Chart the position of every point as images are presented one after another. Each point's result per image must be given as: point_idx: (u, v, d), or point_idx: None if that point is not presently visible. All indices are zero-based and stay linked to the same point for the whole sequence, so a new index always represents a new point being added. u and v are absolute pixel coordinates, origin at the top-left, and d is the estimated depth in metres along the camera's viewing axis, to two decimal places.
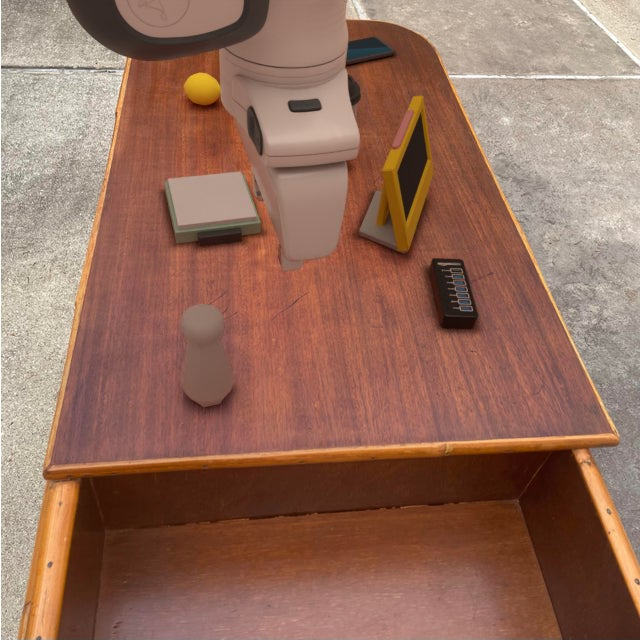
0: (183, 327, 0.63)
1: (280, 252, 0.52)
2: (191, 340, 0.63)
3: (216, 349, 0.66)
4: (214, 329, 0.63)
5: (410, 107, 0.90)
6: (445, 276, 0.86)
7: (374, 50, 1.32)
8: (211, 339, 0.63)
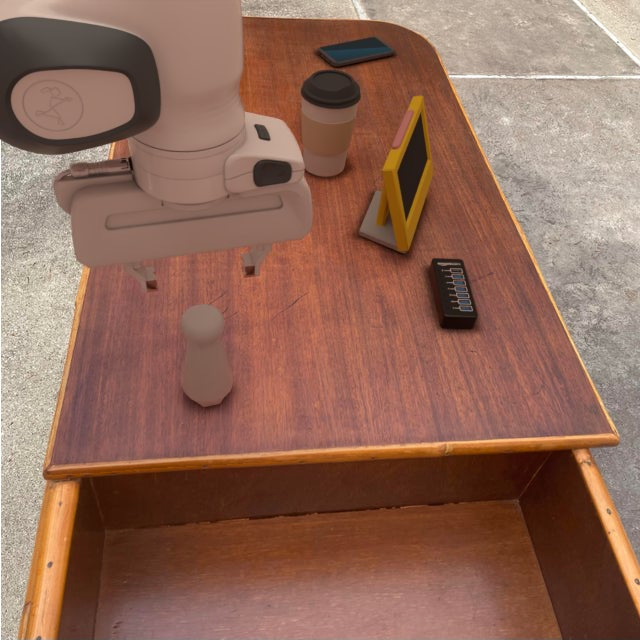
0: (183, 327, 0.63)
1: (253, 266, 0.59)
2: (191, 340, 0.63)
3: (216, 349, 0.66)
4: (214, 329, 0.63)
5: (410, 107, 0.90)
6: (445, 276, 0.86)
7: (374, 50, 1.32)
8: (211, 339, 0.63)
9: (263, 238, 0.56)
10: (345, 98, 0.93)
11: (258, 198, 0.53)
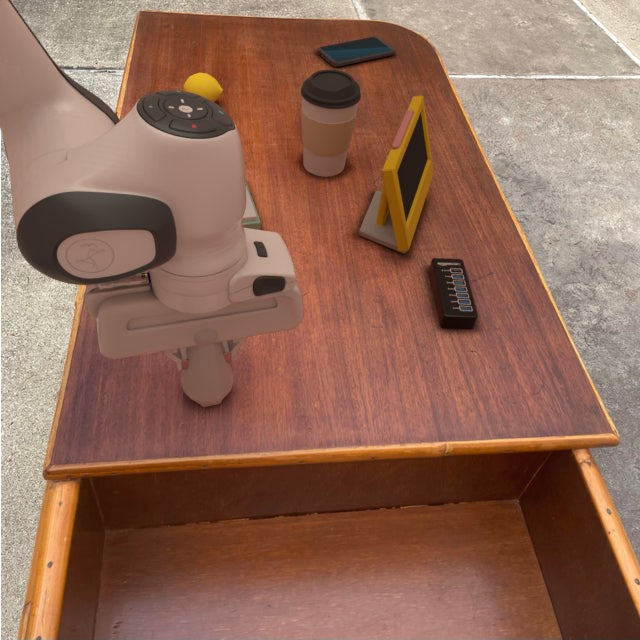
0: None
1: (229, 354, 0.68)
2: None
3: (216, 349, 0.66)
4: None
5: (410, 107, 0.90)
6: (445, 276, 0.86)
7: (374, 50, 1.32)
8: (211, 339, 0.63)
9: (260, 330, 0.65)
10: (345, 98, 0.93)
11: (256, 300, 0.62)
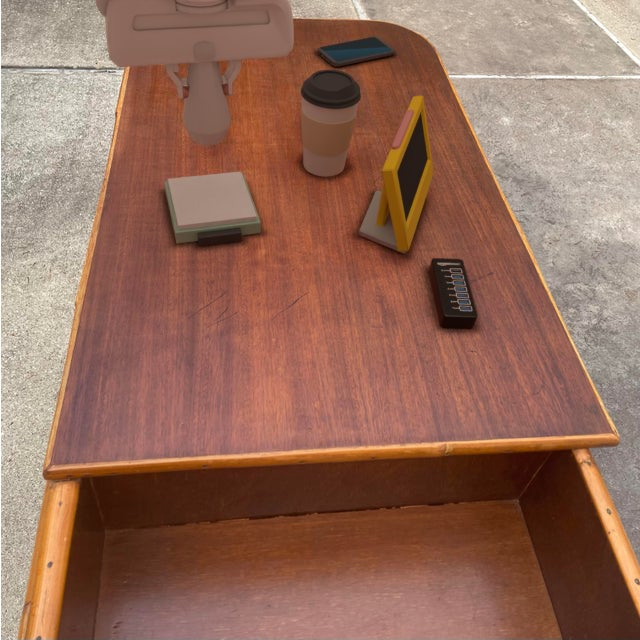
0: None
1: (226, 84, 0.74)
2: None
3: (214, 72, 0.72)
4: None
5: (410, 107, 0.90)
6: (445, 276, 0.86)
7: (374, 50, 1.32)
8: (209, 53, 0.70)
9: (254, 51, 0.71)
10: (345, 98, 0.93)
11: (250, 12, 0.68)
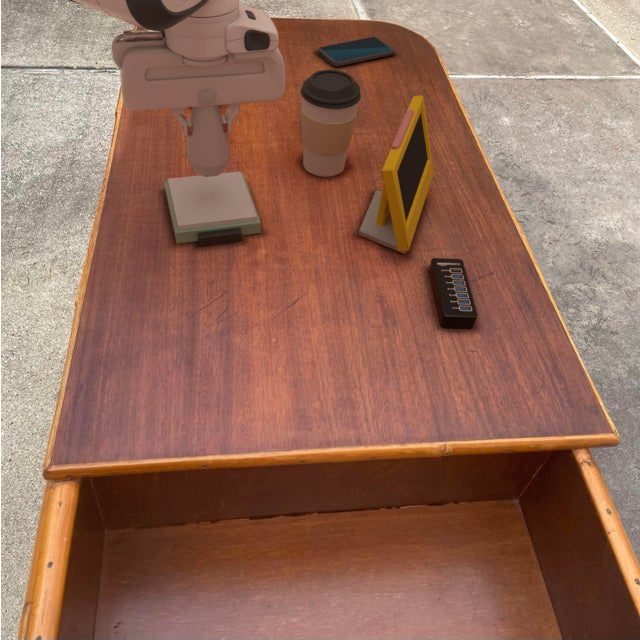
0: None
1: (226, 124, 0.84)
2: None
3: (215, 114, 0.82)
4: None
5: (410, 107, 0.90)
6: (445, 276, 0.86)
7: (374, 50, 1.32)
8: (211, 98, 0.79)
9: (251, 96, 0.81)
10: (345, 98, 0.93)
11: (247, 64, 0.78)
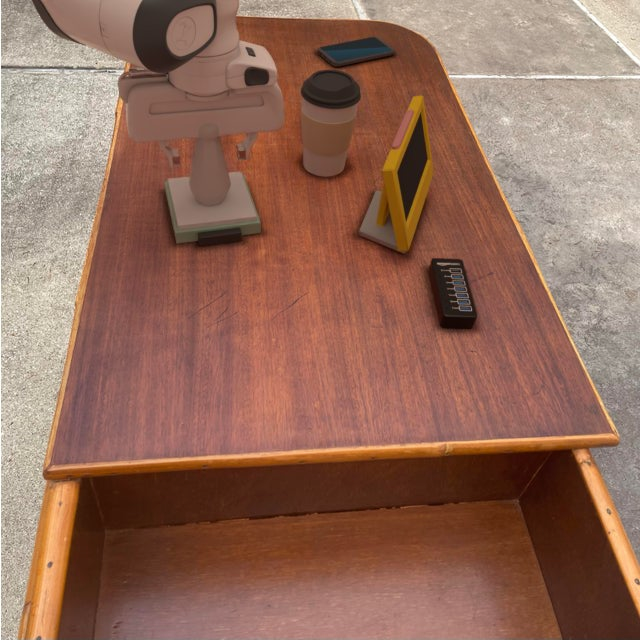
0: None
1: (244, 151, 0.88)
2: None
3: (216, 148, 0.85)
4: (215, 125, 0.82)
5: (410, 107, 0.90)
6: (444, 275, 0.86)
7: (374, 50, 1.32)
8: (213, 133, 0.83)
9: (251, 127, 0.84)
10: (345, 98, 0.93)
11: (248, 97, 0.81)
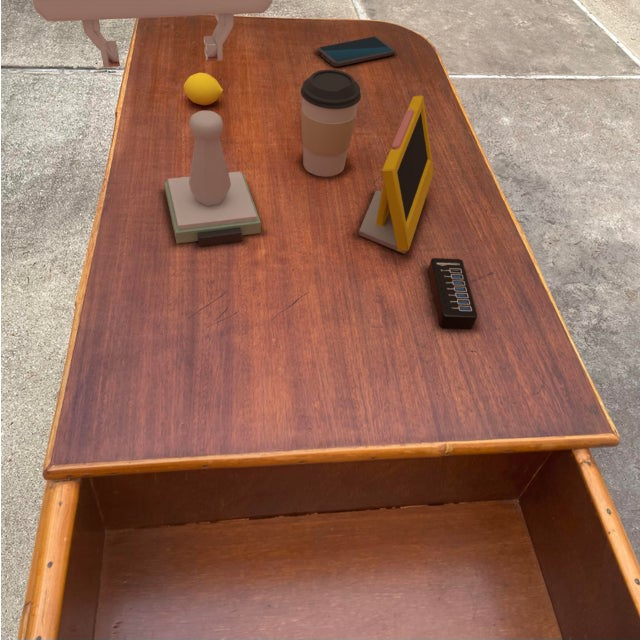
0: (191, 124, 0.83)
1: (215, 46, 0.60)
2: (197, 135, 0.83)
3: (216, 148, 0.85)
4: (215, 125, 0.82)
5: (410, 107, 0.90)
6: (444, 276, 0.86)
7: (374, 50, 1.32)
8: (213, 133, 0.83)
9: (223, 4, 0.56)
10: (345, 98, 0.93)
11: None
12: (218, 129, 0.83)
